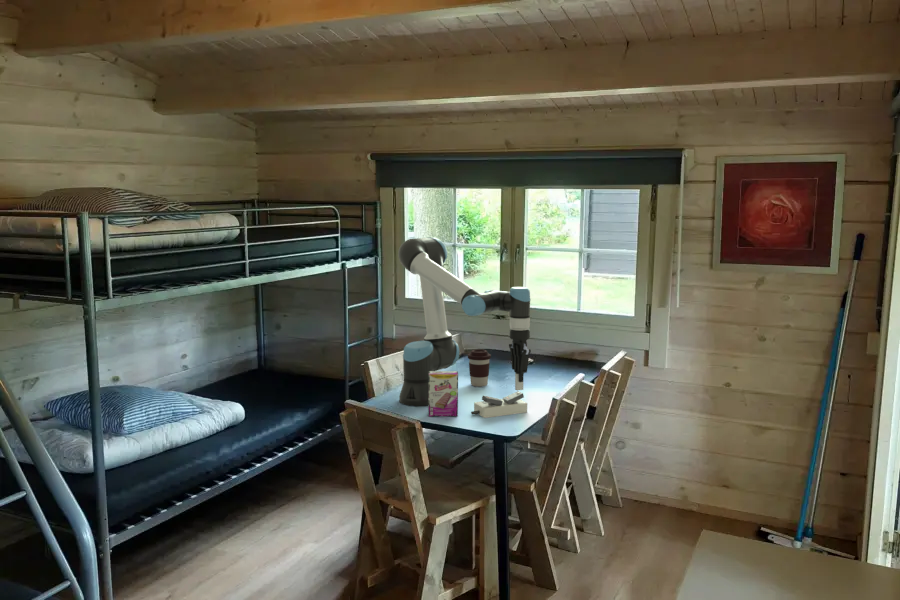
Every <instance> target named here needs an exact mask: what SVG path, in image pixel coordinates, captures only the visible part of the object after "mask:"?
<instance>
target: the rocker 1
mask: <svg viewBox="0 0 900 600" xmlns="http://www.w3.org/2000/svg"><path fill="white" fill-rule="evenodd" d="M500 399H501V398H497V397H492V396H489V395H482V396H481V400H482V401H485V402H488V403H493V404H498V405H502V402H503V401H502V400H500Z"/></svg>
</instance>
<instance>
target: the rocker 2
mask: <svg viewBox="0 0 900 600" xmlns="http://www.w3.org/2000/svg"><path fill="white" fill-rule="evenodd" d="M524 398H525V395H524V393H523V392H521V391H520V390H516V391H515V392H513V393H511V394H509V395H506V396H504V397H503V398H502V399H503V400H504V402H505V403H507V404H511V403H513V402H515V401H517V400H519V399H520V400H522V399H524Z"/></svg>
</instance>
